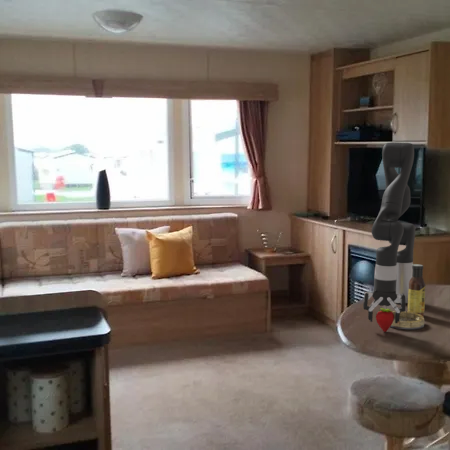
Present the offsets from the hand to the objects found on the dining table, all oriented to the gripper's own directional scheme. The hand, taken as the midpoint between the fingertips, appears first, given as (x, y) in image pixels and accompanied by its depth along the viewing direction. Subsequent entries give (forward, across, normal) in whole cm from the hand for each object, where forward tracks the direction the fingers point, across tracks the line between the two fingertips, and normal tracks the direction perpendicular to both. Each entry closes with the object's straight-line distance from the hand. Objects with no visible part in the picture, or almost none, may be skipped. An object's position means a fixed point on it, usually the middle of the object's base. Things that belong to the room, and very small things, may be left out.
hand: (383, 321), depth 207 cm
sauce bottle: (+4, -14, -23) cm, 27 cm away
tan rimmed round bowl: (+4, -8, -11) cm, 14 cm away
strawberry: (+4, 0, 0) cm, 4 cm away
